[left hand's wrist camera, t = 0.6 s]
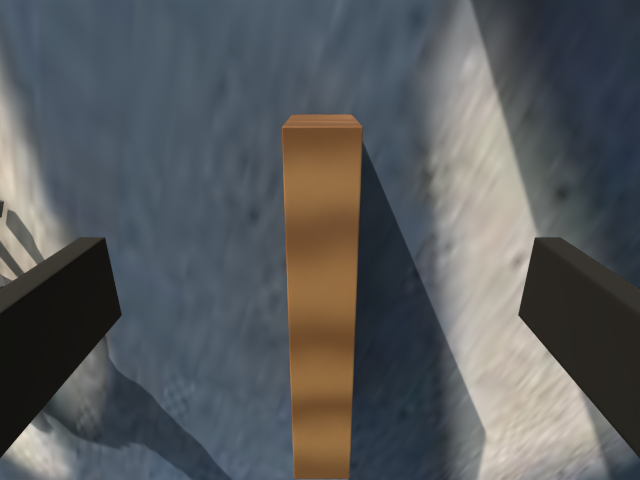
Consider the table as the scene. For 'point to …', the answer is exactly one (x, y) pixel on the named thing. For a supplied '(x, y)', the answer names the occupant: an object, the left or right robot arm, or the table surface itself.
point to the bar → (322, 286)
